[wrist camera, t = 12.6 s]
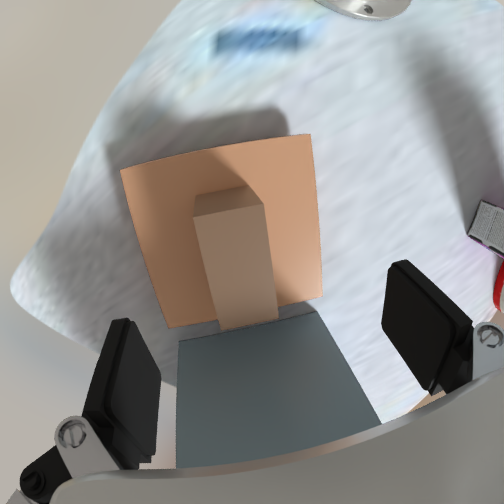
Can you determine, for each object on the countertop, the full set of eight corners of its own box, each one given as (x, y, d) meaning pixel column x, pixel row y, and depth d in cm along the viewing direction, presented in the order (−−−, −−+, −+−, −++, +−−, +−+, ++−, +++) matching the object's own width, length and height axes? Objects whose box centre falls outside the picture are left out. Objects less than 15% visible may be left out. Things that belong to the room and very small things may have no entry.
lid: (129, 165, 19) (93, 184, 13) (298, 133, 20) (343, 137, 14) (170, 310, 25) (163, 373, 18) (312, 281, 26) (347, 333, 19)
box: (179, 341, 26) (176, 482, 13) (317, 311, 27) (386, 433, 14) (213, 417, 31) (225, 522, 18) (318, 394, 32) (359, 490, 19)
